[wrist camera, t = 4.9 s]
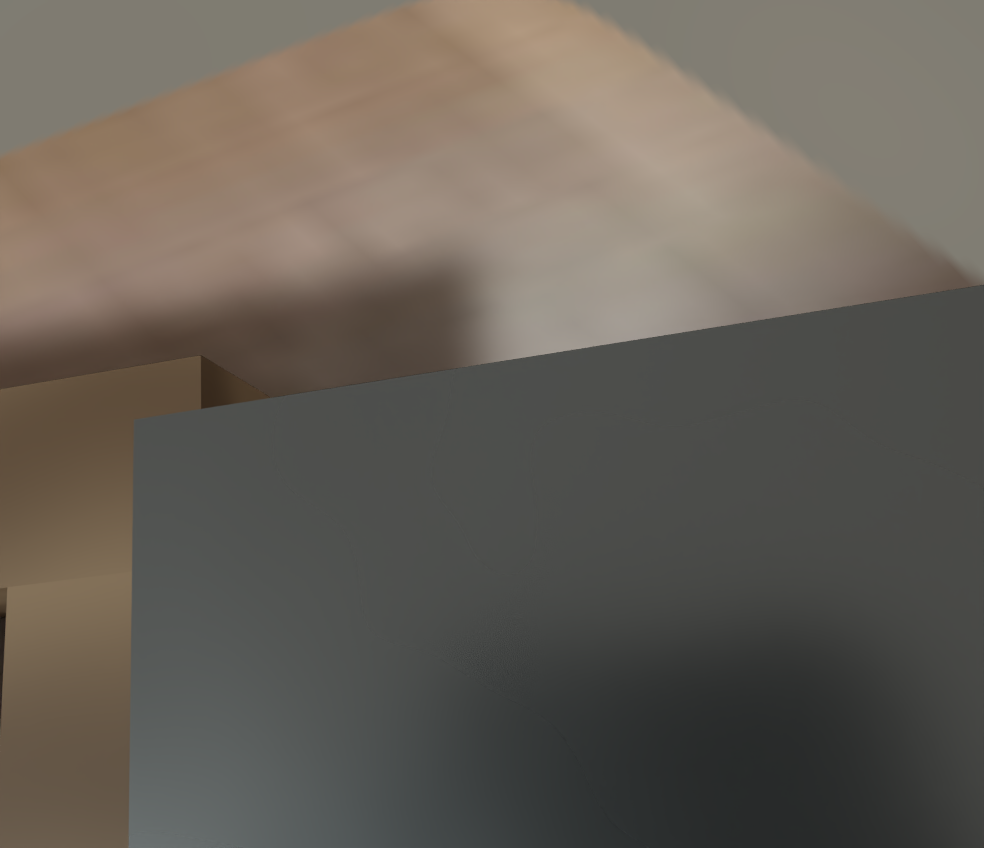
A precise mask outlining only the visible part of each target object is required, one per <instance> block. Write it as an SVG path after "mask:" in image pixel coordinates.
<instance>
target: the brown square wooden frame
mask: <svg viewBox="0 0 984 848" xmlns="http://www.w3.org/2000/svg"><path fill="white" fill-rule="evenodd" d="M267 398H271V397H269V396H267V395H266V394H264V393H262V392H261V391H259V390H257V389H256V388H254V387H252V386H251V385H249V384H248V383H246V382H244V381H243V380H241V379H239V378H238V377H236V376H234V375H233V374H231V373H229V372H228V371H226V370H224V369H223V368H221V367H219V366H218V365H216V364H214V363H213V362H211V361H209V360H208V359H206V358H205V357H203V356H201V355H199V356H193V357H187V358H181V359H175V360H169V361H163V362H158V363H152V364H146V365H140V366H134V367H128V368H122V369H116V370H110V371H104V372H99V373H93V374H87V375H81V376H75V377H69V378H63V379H57V380H51V381H45V382H40V383H34V384H28V385H22V386H16V387H10V388H4V389H0V617H6V627H5V647H4V666H3V686H2V706H1V726H0V848H128V847H129V767H130V687H131V607H132V526H133V446H134V419H141V418H147V417H153V416H160V415H166V414H172V413H179V412H185V411H191V410H198V409H204V408H210V407H216V406H223V405H229V404H235V403H242V402H248V401H254V400H261V399H267Z"/></svg>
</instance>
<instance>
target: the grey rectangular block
mask: <svg viewBox="0 0 984 848" xmlns="http://www.w3.org/2000/svg"><path fill="white" fill-rule="evenodd" d="M128 848H984V285H980V286H974V287H967V288H961V289H955V290H948V291H942V292H936V293H929V294H923V295H917V296H911V297H904V298H898V299H892V300H885V301H879V302H873V303H866V304H860V305H854V306H847V307H841V308H835V309H828V310H822V311H816V312H810V313H803V314H797V315H791V316H784V317H778V318H772V319H765V320H759V321H753V322H746V323H740V324H734V325H728V326H721V327H715V328H709V329H702V330H696V331H690V332H683V333H677V334H671V335H664V336H658V337H652V338H646V339H639V340H633V341H627V342H620V343H614V344H608V345H601V346H595V347H589V348H582V349H576V350H570V351H563V352H557V353H551V354H545V355H538V356H532V357H526V358H519V359H513V360H507V361H500V362H494V363H488V364H481V365H475V366H469V367H463V368H456V369H450V370H444V371H437V372H431V373H425V374H418V375H412V376H406V377H399V378H393V379H387V380H381V381H374V382H368V383H362V384H355V385H349V386H343V387H336V388H330V389H324V390H317V391H311V392H305V393H298V394H292V395H286V396H280V397H273V398H267V399H261V400H254V401H248V402H242V403H235V404H229V405H223V406H216V407H210V408H204V409H198V410H191V411H185V412H179V413H172V414H166V415H160V416H153V417H147V418H141V419H134V446H133V526H132V607H131V687H130V767H129V847H128Z"/></svg>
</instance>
